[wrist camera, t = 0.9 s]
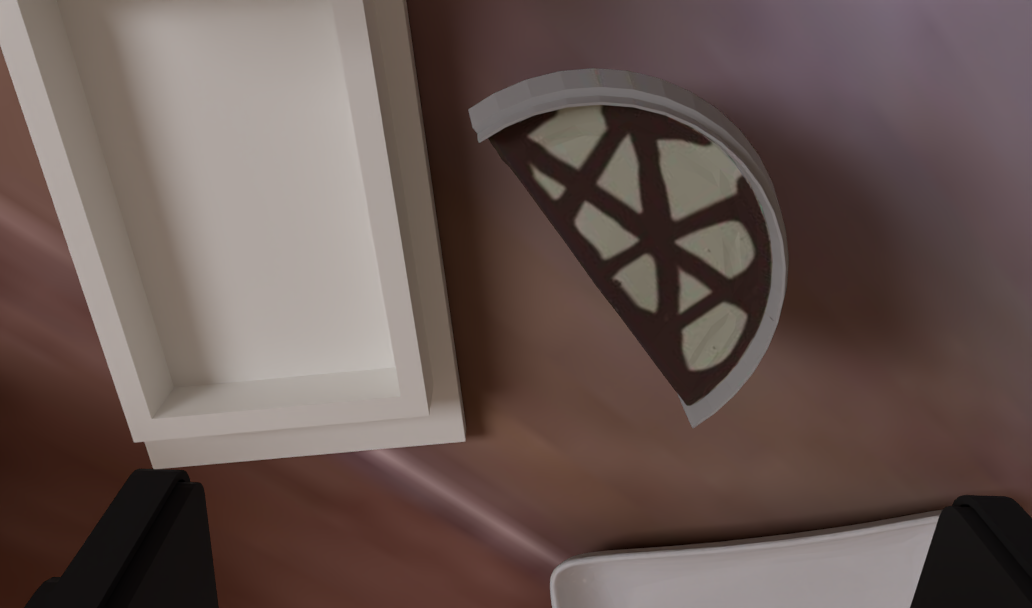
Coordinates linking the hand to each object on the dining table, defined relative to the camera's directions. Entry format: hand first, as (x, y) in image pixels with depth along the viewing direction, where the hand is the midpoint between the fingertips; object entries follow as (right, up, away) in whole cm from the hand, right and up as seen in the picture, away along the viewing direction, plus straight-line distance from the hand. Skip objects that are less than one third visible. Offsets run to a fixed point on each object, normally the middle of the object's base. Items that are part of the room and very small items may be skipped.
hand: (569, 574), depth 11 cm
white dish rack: (-11, +8, +22) cm, 26 cm away
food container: (+4, +10, +22) cm, 24 cm away
